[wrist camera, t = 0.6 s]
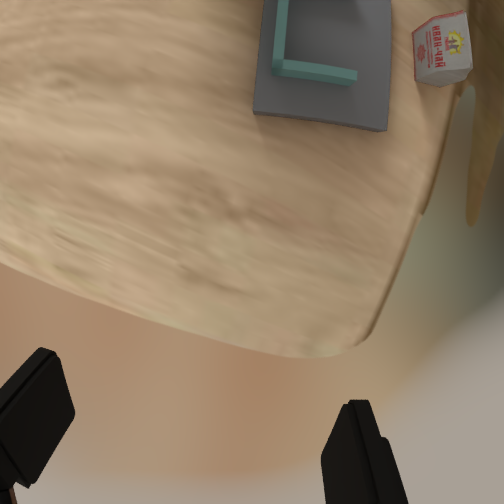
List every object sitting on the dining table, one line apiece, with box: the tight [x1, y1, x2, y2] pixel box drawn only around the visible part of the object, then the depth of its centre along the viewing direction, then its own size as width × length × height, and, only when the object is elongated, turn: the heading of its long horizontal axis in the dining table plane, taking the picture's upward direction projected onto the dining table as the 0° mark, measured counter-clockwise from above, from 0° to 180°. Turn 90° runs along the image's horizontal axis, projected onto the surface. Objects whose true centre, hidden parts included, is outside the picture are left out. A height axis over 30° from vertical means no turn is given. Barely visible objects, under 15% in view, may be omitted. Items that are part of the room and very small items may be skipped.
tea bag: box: [412, 10, 473, 87], centre depth 24 cm, size 4×7×10 cm, turn 178°
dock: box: [253, 0, 391, 132], centre depth 27 cm, size 20×14×6 cm
